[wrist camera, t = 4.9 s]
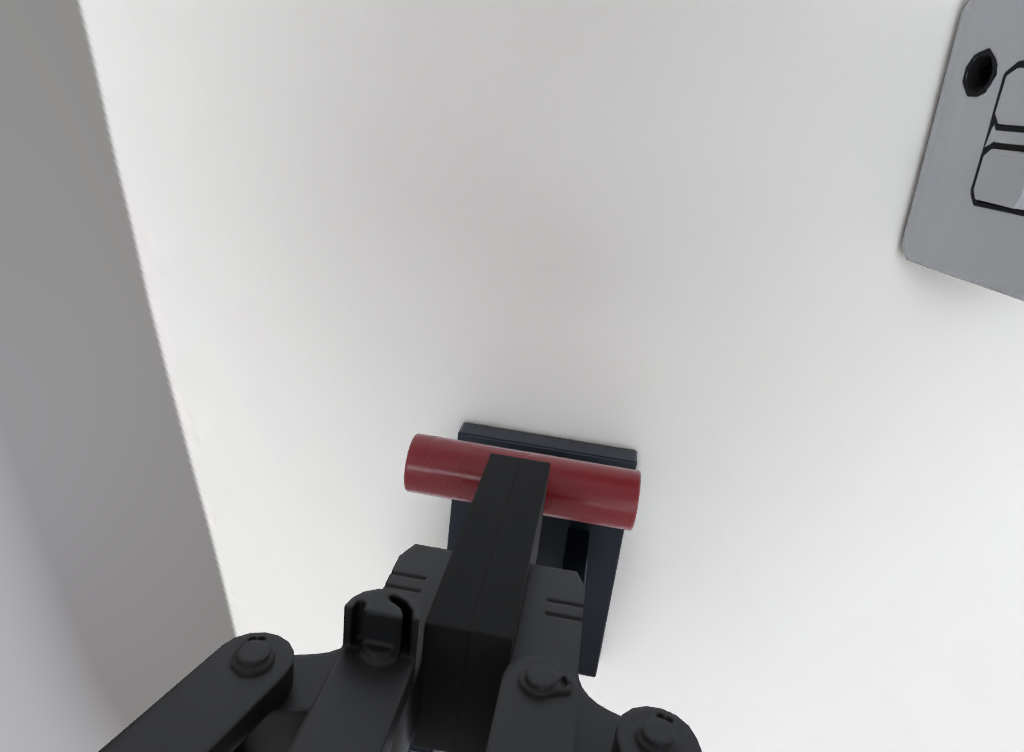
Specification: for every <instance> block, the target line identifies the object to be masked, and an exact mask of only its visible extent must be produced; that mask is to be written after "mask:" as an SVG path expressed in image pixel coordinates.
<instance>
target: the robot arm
mask: <svg viewBox="0 0 1024 752" xmlns="http://www.w3.org/2000/svg"><path fill="white" fill-rule="evenodd" d="M550 464H551V463H548V462H542V461H536V460H530V459H524V458H518V457H512V456H506V455H500V454H494V453H491V454H490V457H489V460H488V462H487V465H486V467H485V470H484V472H483V475H482V477H481V480H480V483H479V485H478V488H477V490H476V493H475V495H474V498H473V501H472V503H471V506H470V508H469V511H468V513H467V516H466V518H465V521H464V524H463V526H462V529H461V531H460V534H459V536H458V539H457V541H456V544H455V547H454V549H453V551H451V550H446V549H440V548H435V547H429V546H424V545H418V544H415V545H414V546H412V547H411V548H409V549H408V550H407V551H405V552H404V553H403V554H401V555H400V556H399V558H398V560H397V562H396V564H395V566H394V568H393V570H392V573H391V574H390V576H389V578H388V580H387V582H386V584H385V586H384V588H383V589H376V590H370V591H365V592H363V593H361V594H359V595H357V596H355V597H353V598H352V599H351V600H350V601H349V602H348V603H347V604H346V605H345V608H344V633H343V646H342V647H341V648H340V649H338V650H334V651H331V652H327V653H320V654H307V655H294V651H293V649H292V647H291V645H290V644H289V642H288V641H286V640H285V639H283V638H282V637H280V636H278V635H274V634H270V633H249V634H245V635H242V636H239V637H236V638H234V639H232V640H230V641H229V642H227V643H226V644H224V645H222V646H221V647H220V648H219V649H218V650H217V651H215V652H214V653H213V654H212V655H211V656H210V657H208V658H207V659H206V660H205V661H204V662H203V663H201V664H200V665H199V666H198V667H197V668H195V669H194V670H193V671H192V672H191V673H190V674H188V675H187V676H186V677H185V678H184V679H183V680H181V681H180V682H179V683H178V684H177V685H176V686H174V687H173V688H172V689H171V690H170V691H169V692H167V693H166V694H165V695H164V696H163V697H162V698H161V699H159V700H158V701H157V702H156V703H155V704H153V705H152V706H151V707H150V708H149V709H148V710H147V711H146V712H144V713H143V714H142V715H141V716H140V717H138V718H137V719H136V720H135V721H134V722H133V723H131V724H130V725H129V726H128V727H127V728H126V729H124V730H123V731H122V732H121V733H120V734H119V735H118V736H116V737H115V738H114V739H113V740H111V741H110V742H109V743H108V744H107V745H106V746H105V747H103V748H102V749H101V750H100V751H99V752H408V749H409V746H410V743H411V740H412V737H413V734H414V731H415V739H414V745H415V746H420V747H424V748H429V749H434V750H439V751H444V752H702V751H701V748H700V746H699V743H698V740H697V738H696V737H695V735H694V733H693V732H692V730H691V729H690V727H689V726H688V725H687V724H686V723H685V722H684V721H682V720H681V719H680V718H679V717H678V716H676V715H674V714H672V713H670V712H668V711H666V710H664V709H661V708H655V707H649V706H644V707H638V708H632V709H631V710H629V711H627V712H626V713H624V714H623V715H622V716H619V715H617V714H615V713H613V712H611V711H609V710H607V709H605V708H604V707H602V706H600V705H599V704H597V703H596V702H595V701H594V700H592V699H591V698H590V697H589V696H588V695H587V693H586V692H585V691H584V689H583V688H582V686H581V683H580V681H579V675H578V666H579V655H580V644H581V632H582V620H583V610H584V598H585V586H584V584H583V583H582V581H581V579H580V577H579V575H578V573H577V572H576V571H570V570H565V569H559V568H554V567H548V566H543V565H537V564H535V563H536V558H537V552H538V546H539V539H540V532H541V525H542V518H543V512H544V505H545V498H546V491H547V484H548V478H549V471H550Z"/></svg>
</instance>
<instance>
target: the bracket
mask: <svg viewBox="0 0 1024 752" xmlns="http://www.w3.org/2000/svg"><path fill="white" fill-rule="evenodd" d="M458 440H460V441H466V442H472V443H478V444H484V445H490V446H496V447H502V448H508V449H514V450H520V451H526V452H532V453H538V454H544V455H549V456H555V457H561V458H567V459H573V460H579V461H585V462H591V463H597V464H603V465H609V466H615V467H621V468H627V469H633V470H636V466H637V452H636V451H632V450H626V449H620V448H614V447H608V446H602V445H596V444H590V443H584V442H578V441H572V440H566V439H560V438H554V437H548V436H542V435H536V434H530V433H524V432H518V431H512V430H506V429H499V428H493V427H487V426H481V425H475V424H469V423H463V425H462V427H461V429H460V431H459V433H458ZM470 506H471V502H465V501H460V500H454V499H452V504H451V514H450V525H449V535H448V546H447V550H451V551H453V549H454V547H455V544H456V541H457V539H458V536H459V534H460V531H461V529H462V526H463V524H464V521H465V518H466V516H467V513H468V511H469V508H470ZM623 533H624V529H619V528H613V527H607V526H602V525H596V524H590V523H585V522H579V521H573V520H568V519H562V518H556V517H550V516H545V515H543V518H542V525H541V532H540V539H539V546H538V552H537V558H536V563H535V564H537V565H543V566H548V567H554V568H559V569H565V570H570V571H576V572H577V573H578V575H579V577H580V579H581V581H582V583H583V584H584V586H585V598H584V610H583V620H582V632H581V644H580V655H579V666H578V674H581V675H586V676H591V677H595V676H596V672H597V667H598V662H599V657H600V652H601V647H602V641H603V636H604V631H605V626H606V621H607V616H608V610H609V605H610V600H611V595H612V590H613V585H614V579H615V574H616V569H617V564H618V559H619V554H620V548H621V543H622V538H623ZM414 739H415V731H414V734H413V737H412V740H411V743H410V746H409V749H408V752H444V751H439V750H434V749H429V748H424V747H420V746H415V745H414Z"/></svg>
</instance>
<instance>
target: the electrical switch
mask: <svg viewBox="0 0 1024 752" xmlns="http://www.w3.org/2000/svg"><path fill="white" fill-rule="evenodd" d="M902 248H903V251H904V253H905V256H906V258H907V260H910V261H912V262H915V263H918V264H920V265H923V266H926V267H928V268H931V269H934V270H937V271H940V272H942V273H945V274H948V275H951V276H954V277H957V278H960V279H962V280H965V281H968V282H971V283H974V284H977V285H980V286H982V287H985V288H988V289H991V290H994V291H997V292H1000V293H1002V294H1005V295H1008V296H1011V297H1014V298H1017V299H1020V300H1022V301H1024V0H969V1H968V3H967V4H966V6H965V7H964V9H963V11H962V14H961V17H960V21H959V25H958V29H957V33H956V37H955V40H954V44H953V48H952V52H951V56H950V60H949V64H948V67H947V71H946V75H945V79H944V83H943V87H942V91H941V94H940V98H939V102H938V106H937V110H936V114H935V118H934V121H933V125H932V129H931V133H930V137H929V141H928V145H927V148H926V152H925V156H924V160H923V164H922V168H921V172H920V175H919V179H918V183H917V187H916V191H915V195H914V199H913V202H912V206H911V210H910V214H909V218H908V222H907V226H906V229H905V233H904V237H903V242H902Z"/></svg>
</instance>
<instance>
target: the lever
mask: <svg viewBox="0 0 1024 752" xmlns="http://www.w3.org/2000/svg"><path fill="white" fill-rule="evenodd" d="M491 453H494V454H500V455H506V456H512V457H518V458H524V459H530V460H536V461H542V462H548V463H551V464H550V471H549V478H548V484H547V491H546V498H545V505H544V512H543V515H545V516H550V517H556V518H562V519H568V520H573V521H579V522H585V523H590V524H596V525H602V526H607V527H613V528H619V529H624V530H632V528H633V526H634V522H635V518H636V513H637V508H638V501H639V494H640V484H641V474H640V471H638V470H633V469H627V468H621V467H615V466H609V465H603V464H597V463H591V462H585V461H579V460H573V459H567V458H561V457H555V456H549V455H544V454H538V453H532V452H526V451H520V450H514V449H508V448H502V447H496V446H490V445H484V444H478V443H472V442H466V441H460V440H454V439H449V438H443V437H437V436H431V435H425V434H416V435H415V436H414V438H413V440H412V442H411V444H410V447H409V451H408V455H407V459H406V464H405V472H404V485H405V489H406V490H407V491H409V492H414V493H420V494H426V495H431V496H437V497H443V498H448V499H454V500H460V501H465V502H471V503H472V501H473V498H474V495H475V493H476V490H477V488H478V485H479V483H480V480H481V477H482V475H483V472H484V470H485V467H486V465H487V462H488V460H489V457H490V454H491Z"/></svg>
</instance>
